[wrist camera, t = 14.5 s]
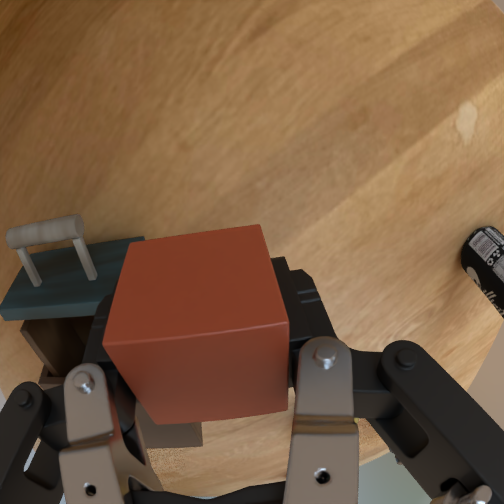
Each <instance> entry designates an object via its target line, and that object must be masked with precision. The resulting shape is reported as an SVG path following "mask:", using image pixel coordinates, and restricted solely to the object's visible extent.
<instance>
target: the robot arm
mask: <svg viewBox="0 0 504 504" xmlns="http://www.w3.org/2000/svg"><path fill="white" fill-rule="evenodd" d="M270 259H271V262H272V265H273V269H274V272H275V275H276V279H277V282H278V285H279V289H280V292H281V295H282V299H283V302H284V306H285V309H286V312H287V316H288V319H289V385H288V388H290V387H293V388H294V392H295V395H296V397H295V408H294V418H293V425H292V434H291V443H290V452H289V460H288V468H287V476H286V481H281V482H275V483H269V484H262V485H255V486H248V487H246V488H243V489H240V490H237V491H234V492H231V493H228V494H225V495H222V496H219V497H216V498H212V499H199V498H195V497H189V496H185V495H180V494H176V493H171V492H167V491H164V489H163V487H162V484H161V482H160V480H159V478H158V477H157V475H156V474H155V472H154V470H153V468H152V466H151V463H150V459H149V456H148V453H147V449H146V446H145V442H144V439H143V435H142V431H141V428H140V424H139V420H138V417H137V416H136V414H135V409H136V403H140V402H139V401H138V399H137V398H136V396H135V395H134V394H133V392H132V391H131V389H130V388H129V386H128V385H127V383H126V382H125V380H124V379H123V377H122V376H121V374H120V373H119V371H118V370H117V368H116V366H115V365H114V363H113V362H112V360H111V358H110V357H109V355H108V354H107V352H106V350H105V349H104V347H103V345H102V342H103V337H104V333H105V329H106V325H107V321H108V317H109V313H110V309H111V305H112V302H113V298H114V294H115V291H116V287H117V284H118V280H119V279H117V281H116V284H115V287H114V290H113V294H110V295H105V297H104V298H103V299H102V301H101V302H100V303H99V305H98V306H97V309H96V312H95V316H94V320H93V323H92V326H91V328H92V329H91V330H90V333H89V337H88V341H87V344H86V348H85V352H84V356H83V360H82V364H81V365H78V366H76V367H75V368H73V369H72V370H71V371H70V372H69V373H68V375H67V376H66V378H65V381H64V384H62V385H59V386H56V387H53V388H50V389H47V390H42V389H41V388H40V387H39V386H38V385H37V384H36V383H34V382H30V381H29V382H23V383H21V384H20V385H18V386H17V387H16V388H15V389H14V390H13V391H12V393H11V394H10V396H9V398H8V400H7V401H6V403H5V405H4V407H3V409H2V411H1V412H0V504H59V503H60V501H61V498H62V496H63V493H64V495H65V500H66V504H358V481H359V430H358V425H357V423H355V421H354V418H366V420H367V421H368V422H369V423H370V424H371V426H372V427H373V428H374V429H375V431H376V432H377V433H378V434H379V436H380V437H381V438H382V439H383V441H384V442H385V443H386V444H387V445H388V447H389V448H390V449H391V450H392V452H393V453H394V454H395V455H396V457H397V458H398V459H399V460H400V461H401V463H402V464H403V465H404V466H405V468H406V469H407V470H408V471H409V472H410V474H411V475H412V476H413V477H414V479H415V480H416V481H417V482H418V483H419V485H420V486H421V487H422V488H423V489H424V491H425V492H426V493H427V494H428V495H429V497H430V498H431V499H432V501H431V502H430V504H504V431H503V430H502V429H501V428H500V427H499V425H498V424H497V423H496V422H495V421H494V420H493V419H492V418H491V417H490V416H489V415H488V414H487V413H486V412H485V411H484V410H483V409H482V407H480V405H479V404H478V403H477V402H476V401H475V400H474V399H473V398H472V397H471V396H470V395H469V394H468V393H467V392H466V391H465V390H464V389H463V388H462V387H461V386H460V385H459V384H458V383H457V382H456V381H455V380H454V379H453V378H452V377H451V376H450V375H449V374H448V373H447V372H446V371H445V370H444V369H443V368H442V367H441V366H440V365H439V364H438V363H437V362H436V361H435V360H434V359H433V358H432V357H431V356H430V355H429V354H428V353H427V352H426V351H425V350H424V349H423V348H422V347H421V346H419V345H418V344H416V343H414V342H411V341H406V340H399V341H395V342H392V343H390V344H389V345H387V346H386V347H385V349H384V350H383V352H367V351H358V350H354V349H351V348H349V347H348V346H347V345H346V344H345V343H344V342H342V341H341V340H339V339H338V338H337V336H336V334H335V332H334V329H333V327H332V324H331V322H330V319H329V317H328V315H327V312H326V310H325V307H324V305H323V303H322V301H321V298H320V296H319V293H318V291H317V288H316V286H315V284H314V281H313V279H312V277H310V276H309V275H308V274H307V273H306V272H305V271H303V270H302V269H299V270H292V271H290V270H289V267H288V264H287V262H286V259H285V257H284V256H283V257H276V258H270ZM37 438H39V439H41V442H40V444H39V446H38V448H37V450H36V453H35V455H34V457H33V459H32V461H31V463H30V466H29V468H28V469H27V470H26V471H25V472H24V465H25V463H26V461H27V459H28V457H29V455H30V452H31V450H32V448H33V446H34V444H35V442H36V440H37Z"/></svg>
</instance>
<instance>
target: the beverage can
mask: <svg viewBox="0 0 504 504" xmlns="http://www.w3.org/2000/svg"><path fill="white" fill-rule="evenodd" d="M461 265H462V268H463V269H464V270H465V272H466V273H467V274H468V275H469V276H470V277H471V279H472V280H473V281H474V282H475V283H476V284H477V286H478V287H479V288H480V289H481V291H482V292H483V293H484V294H485V295H486V297H487V298H488V299H489V300H490V302H491V303H492V304H493V305H494V307H495V308H496V309H497V311H498V312H499V313H500V314H501V316H502V317H503V318H504V235H502V234H501V233H500V232H499V231H498V230H497V229H496V228H494V227H492V226H488V227H482V228H479V229H477V230H476V231H475V232H473V233H472V234H471V235H470V237H469V238H468V239H467V241H466V242H465V244H464V246H463V249H462V253H461Z"/></svg>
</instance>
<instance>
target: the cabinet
mask: <svg viewBox="0 0 504 504" xmlns="http://www.w3.org/2000/svg"><path fill="white" fill-rule="evenodd" d="M65 378H66V377H54V376H53V375H52V373H51V372H50V371H49V370H48V368H47V367H46V366H45V365H44V366H43V369H42V373H41V377H40V379H39V383H38V384H39V385H40V386H41V387H42V388H43V389H44V390H47V389H50V388H53V387H56V386H59V385H62V384H64V381H65ZM135 414H136V416H137V417H138V420H139V424H140V428H141V431H142V435H143V439H144V442H145V446H146V448H184V447H201V446H203V441H202V426H201V422H194V423H180V424H160V425H157V424H155V423H154V421H153V420H152V419H151V417H150V416H149V415H148V413H147V412H146V410H145V409H144V408H143V406H142V405H141V403H136V409H135Z"/></svg>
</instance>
